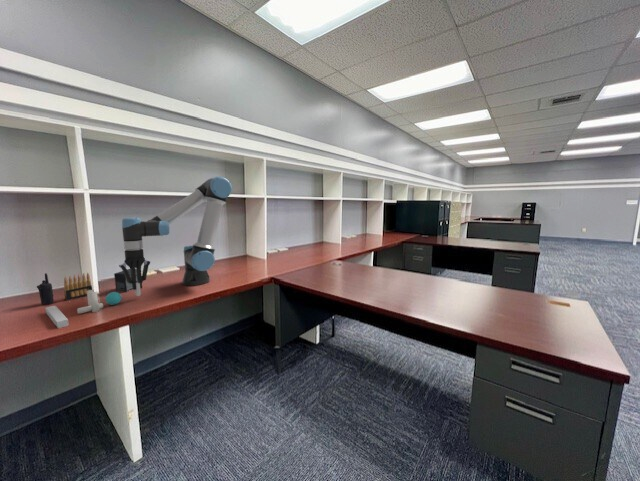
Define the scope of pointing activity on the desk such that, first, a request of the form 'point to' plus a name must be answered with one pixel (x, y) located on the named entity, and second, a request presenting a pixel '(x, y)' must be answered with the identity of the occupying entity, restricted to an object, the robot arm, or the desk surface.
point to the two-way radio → (46, 291)
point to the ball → (113, 298)
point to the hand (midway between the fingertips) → (138, 295)
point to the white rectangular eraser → (57, 316)
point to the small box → (123, 281)
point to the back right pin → (89, 296)
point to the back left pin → (94, 302)
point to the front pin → (88, 308)
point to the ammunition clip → (77, 287)
